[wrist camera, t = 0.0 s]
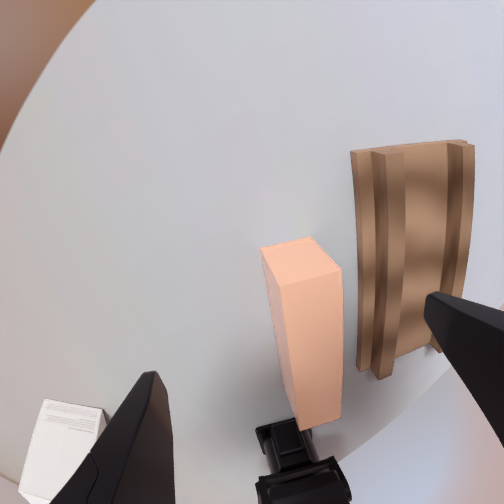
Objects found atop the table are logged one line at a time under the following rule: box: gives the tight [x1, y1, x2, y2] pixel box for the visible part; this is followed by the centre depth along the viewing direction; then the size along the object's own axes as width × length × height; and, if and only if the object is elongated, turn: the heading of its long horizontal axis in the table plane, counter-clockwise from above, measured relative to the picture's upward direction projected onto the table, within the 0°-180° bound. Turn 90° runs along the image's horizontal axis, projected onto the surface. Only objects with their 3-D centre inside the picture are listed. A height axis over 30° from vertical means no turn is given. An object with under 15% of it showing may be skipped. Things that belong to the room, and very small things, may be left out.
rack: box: [350, 140, 475, 380], centre depth 26 cm, size 22×12×3 cm, turn 10°
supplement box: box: [18, 399, 107, 504], centre depth 23 cm, size 7×7×13 cm
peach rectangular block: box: [260, 236, 343, 431], centre depth 25 cm, size 16×4×6 cm, turn 10°
